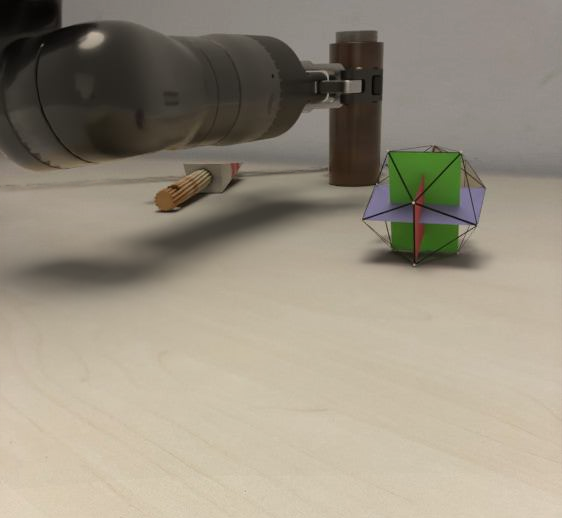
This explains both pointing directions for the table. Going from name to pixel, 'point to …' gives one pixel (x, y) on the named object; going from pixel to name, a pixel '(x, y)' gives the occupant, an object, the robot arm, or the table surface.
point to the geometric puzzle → (426, 200)
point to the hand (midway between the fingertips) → (331, 84)
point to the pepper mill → (355, 115)
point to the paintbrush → (197, 182)
